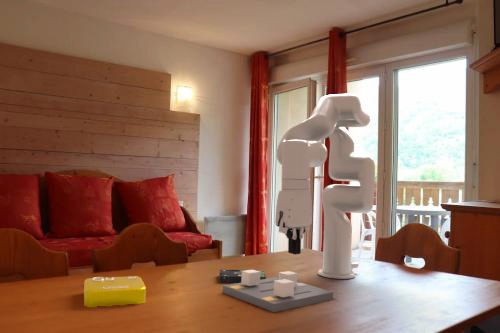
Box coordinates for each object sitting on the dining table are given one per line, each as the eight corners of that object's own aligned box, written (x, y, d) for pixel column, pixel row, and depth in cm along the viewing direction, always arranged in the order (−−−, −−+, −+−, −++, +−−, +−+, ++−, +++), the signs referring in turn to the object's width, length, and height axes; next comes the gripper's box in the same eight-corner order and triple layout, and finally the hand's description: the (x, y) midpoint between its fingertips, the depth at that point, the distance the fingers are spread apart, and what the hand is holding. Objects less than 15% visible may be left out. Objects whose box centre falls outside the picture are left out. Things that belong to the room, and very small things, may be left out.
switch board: (279, 283, 140) (279, 276, 140) (332, 299, 123) (333, 291, 123) (222, 292, 127) (222, 285, 127) (273, 312, 109) (274, 303, 110)
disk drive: (218, 285, 138) (266, 285, 139) (219, 276, 138) (266, 276, 139) (219, 277, 148) (263, 277, 149) (219, 269, 148) (263, 269, 149)
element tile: (84, 309, 108) (84, 289, 108) (83, 294, 122) (84, 276, 122) (146, 305, 113) (147, 286, 114) (139, 290, 127) (140, 273, 128)
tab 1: (252, 281, 131) (252, 269, 131) (259, 284, 128) (260, 271, 128) (241, 283, 128) (241, 270, 128) (249, 286, 125) (249, 273, 125)
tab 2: (288, 283, 130) (288, 271, 130) (297, 285, 127) (297, 273, 127) (278, 285, 128) (278, 272, 128) (286, 287, 125) (287, 274, 125)
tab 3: (284, 292, 120) (284, 278, 120) (293, 295, 117) (294, 281, 117) (273, 294, 117) (273, 280, 117) (282, 297, 114) (283, 283, 114)
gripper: (304, 184, 127) (303, 248, 127) (265, 185, 118) (264, 254, 118) (324, 185, 121) (323, 252, 122) (284, 187, 112) (283, 259, 112)
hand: (294, 253), depth 120 cm, fingers closed
